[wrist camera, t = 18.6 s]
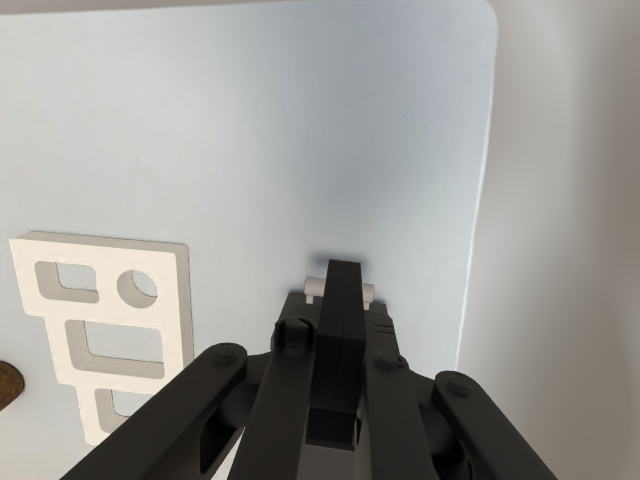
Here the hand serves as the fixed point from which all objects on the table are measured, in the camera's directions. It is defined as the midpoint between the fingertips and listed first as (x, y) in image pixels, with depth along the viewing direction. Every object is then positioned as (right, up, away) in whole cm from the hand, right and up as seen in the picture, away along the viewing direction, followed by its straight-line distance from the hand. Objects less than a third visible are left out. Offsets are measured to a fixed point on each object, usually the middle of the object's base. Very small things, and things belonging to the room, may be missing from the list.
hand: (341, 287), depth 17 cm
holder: (-26, -19, +28) cm, 43 cm away
